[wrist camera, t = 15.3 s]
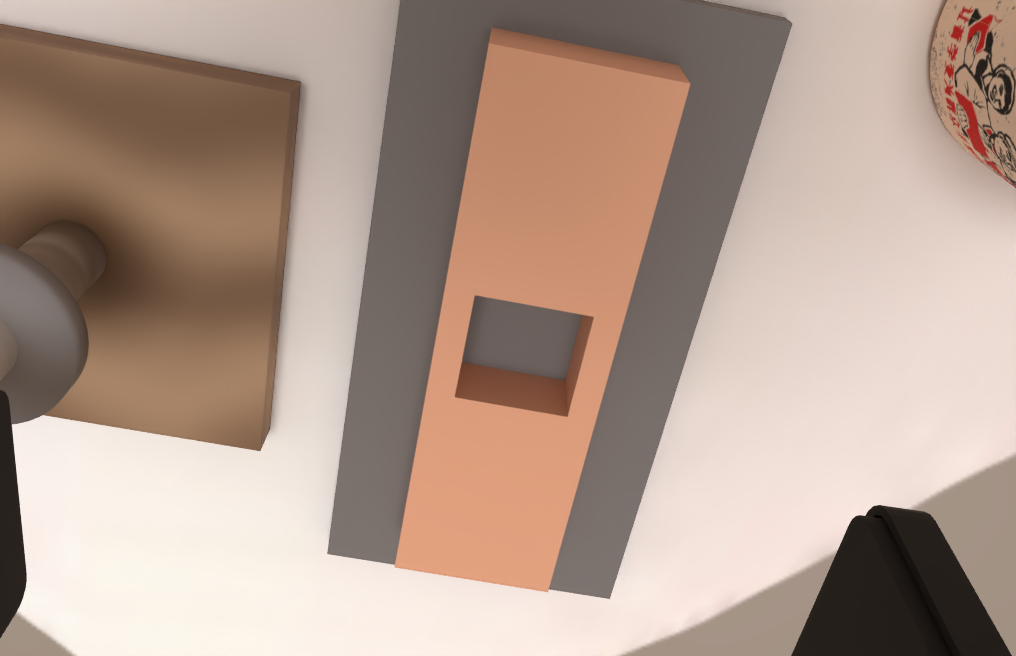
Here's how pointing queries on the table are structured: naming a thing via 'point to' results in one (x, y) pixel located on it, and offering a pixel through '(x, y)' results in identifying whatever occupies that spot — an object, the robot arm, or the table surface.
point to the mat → (525, 328)
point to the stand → (141, 237)
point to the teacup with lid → (978, 79)
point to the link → (535, 298)
